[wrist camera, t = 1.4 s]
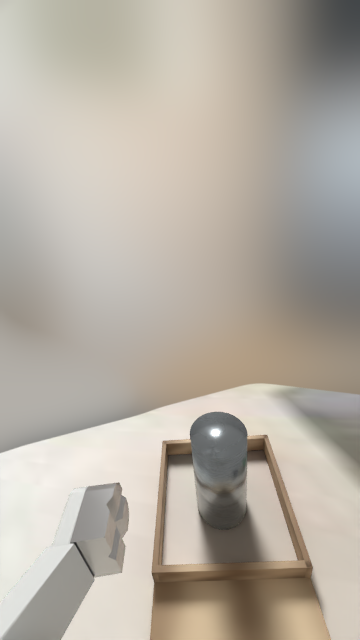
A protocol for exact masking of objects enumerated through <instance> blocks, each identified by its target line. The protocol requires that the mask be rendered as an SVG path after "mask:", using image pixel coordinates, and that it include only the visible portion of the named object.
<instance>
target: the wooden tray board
mask: <svg viewBox="0 0 360 640" xmlns="http://www.w3.org/2000/svg"><path fill="white" fill-rule="evenodd" d="M251 450H264V453H265V456H266V459H267V462H268V465H269V469H270V472H271V475H272V478H273V481H274V485H275V488H276V491H277V494H278V497H279V501H280V504H281V507H282V510H283V513H284V517H285V520H286V523H287V526H288V530H289V533H290V536H291V539H292V542H293V546H294V549H295V552H296V555H297V558H298V561H274V562H244V563H215V564H185V565H162V548H163V531H164V514H165V497H166V481H167V464H168V455H178V454H192V449H191V440H190V439H186V440H169V441H163V443H162V455H161V467H160V479H159V491H158V503H157V515H156V527H155V539H154V550H153V562H152V576H153V579H154V594H153V607H152V621H151V634H150V640H331V638H330V635H329V632H328V629H327V626H326V623H325V620H324V617H323V614H322V611H321V608H320V605H319V602H318V599H317V596H316V593H315V590H314V587H313V584H312V581H311V573H312V569H313V567H312V564H311V561H310V558H309V555H308V552H307V549H306V546H305V543H304V540H303V538H302V535H301V532H300V529H299V526H298V523H297V520H296V517H295V514H294V511H293V509H292V506H291V503H290V500H289V497H288V494H287V491H286V488H285V485H284V482H283V480H282V477H281V474H280V471H279V468H278V465H277V462H276V459H275V456H274V453H273V451H272V448H271V445H270V442H269V439H268V436H267V435H256V436H247V451H251Z"/></svg>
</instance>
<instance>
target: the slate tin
mask: <svg viewBox="0 0 360 640" xmlns="http://www.w3.org/2000/svg"><path fill="white" fill-rule="evenodd" d="M190 440H191V449H192V458H193V467H194V476H195V485H196V494H197V503H198V509H199V512H200V514H201V516H202V518H203V519H204V520H205V521H206V522H207V523H208V524H209V525H211V526H212V527H214V528H217V529H230V528H233V527H235V526H237V525H238V524H239V523H240V522H241V521H242V519H243V518H244V515H245V512H246V491H247V430H246V428H245V426H244V424H243V423H242V422H241V421H240V420H239V419H238V418H236V417H235V416H233V415H231V414H228V413H224V412H211V413H207V414H204V415H202V416H201V417H199V418H198V419H197V420H196V421H195V422H194V423H193V425H192V427H191V430H190Z"/></svg>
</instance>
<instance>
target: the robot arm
mask: <svg viewBox="0 0 360 640" xmlns="http://www.w3.org/2000/svg"><path fill="white" fill-rule="evenodd" d="M121 493H122V487H121V485H120V483H111V484H104V485H96V486H88V487H81V488H74V489H73V490H72V492H71V493H70V495H69V498H68V500H67V503H66V506H65V509H64V512H63V515H62V517H61V520H60V523H59V526H58V529H57V532H56V535H55V537H54V540H53V543H52V546H50V547H46V549H45V550H44V551H43V552H42V553H41V555H40V556H39V557H38V558H37V559H36V560H35V562H34V563H33V564H32V565H31V566H30V568H29V569H28V570H27V571H26V572H25V574H24V575H23V576H22V577H21V578H20V580H19V581H18V582H17V583H16V584H15V585H14V587H13V588H12V589H11V590H10V591H9V593H8V594H7V595H6V596H5V597H4V599H3V600H2V601H1V602H0V640H61V638H62V636H63V635H64V633H65V631H66V629H67V628H68V626H69V624H70V622H71V621H72V619H73V617H74V615H75V613H76V612H77V610H78V608H79V606H80V605H81V603H82V601H83V599H84V598H85V596H86V594H87V592H88V591H89V589H90V587H91V585H92V583H93V582H94V580H95V579H94V577H100V576H106V575H112V574H117V573H122V568H123V561H124V554H125V544H124V542H123V540H122V538H123V536H124V535H125V533H126V532H127V530H128V522H129V508H128V503H127V500H126V498H125V497H124V496H122V495H121Z"/></svg>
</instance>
